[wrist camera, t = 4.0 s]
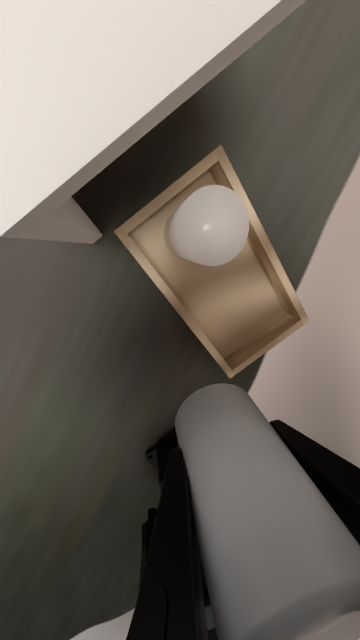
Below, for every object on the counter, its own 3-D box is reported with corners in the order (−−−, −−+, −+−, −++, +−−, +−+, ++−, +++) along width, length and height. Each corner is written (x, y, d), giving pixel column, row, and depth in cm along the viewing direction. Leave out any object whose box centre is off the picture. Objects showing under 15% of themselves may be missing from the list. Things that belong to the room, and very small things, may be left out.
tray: (290, 312, 21) (309, 320, 19) (220, 364, 21) (230, 378, 19) (208, 159, 16) (221, 144, 13) (117, 233, 16) (113, 231, 14)
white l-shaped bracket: (226, 135, 15) (428, -123, 5) (93, 243, 16) (-1, 236, 5) (157, -7, 12) (266, -1537, 2) (-2, 132, 13) (-620, -375, 2)
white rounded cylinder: (221, 240, 17) (261, 237, 11) (183, 269, 17) (204, 280, 12) (194, 195, 16) (225, 166, 10) (153, 228, 16) (161, 217, 10)
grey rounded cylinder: (252, 375, 10) (410, 554, 4) (253, 437, 11) (375, 639, 5) (168, 395, 9) (215, 629, 4) (181, 458, 10) (230, 701, 5)
